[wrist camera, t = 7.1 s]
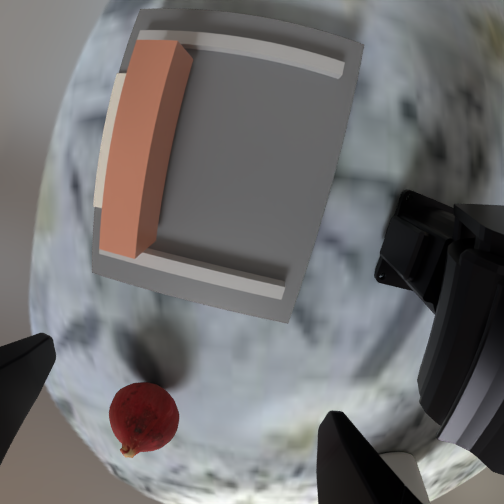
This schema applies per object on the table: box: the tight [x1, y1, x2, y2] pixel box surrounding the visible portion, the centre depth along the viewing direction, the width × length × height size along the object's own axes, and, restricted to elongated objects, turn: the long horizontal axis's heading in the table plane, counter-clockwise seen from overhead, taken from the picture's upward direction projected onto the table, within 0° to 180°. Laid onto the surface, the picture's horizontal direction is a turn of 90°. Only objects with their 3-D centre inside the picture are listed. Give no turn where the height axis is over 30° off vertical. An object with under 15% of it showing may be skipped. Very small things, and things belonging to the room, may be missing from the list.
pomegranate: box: [109, 382, 179, 458], centre depth 20 cm, size 6×6×8 cm
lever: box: [99, 40, 193, 259], centre depth 13 cm, size 2×10×3 cm, turn 167°
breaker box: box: [92, 9, 364, 323], centre depth 15 cm, size 13×17×3 cm
